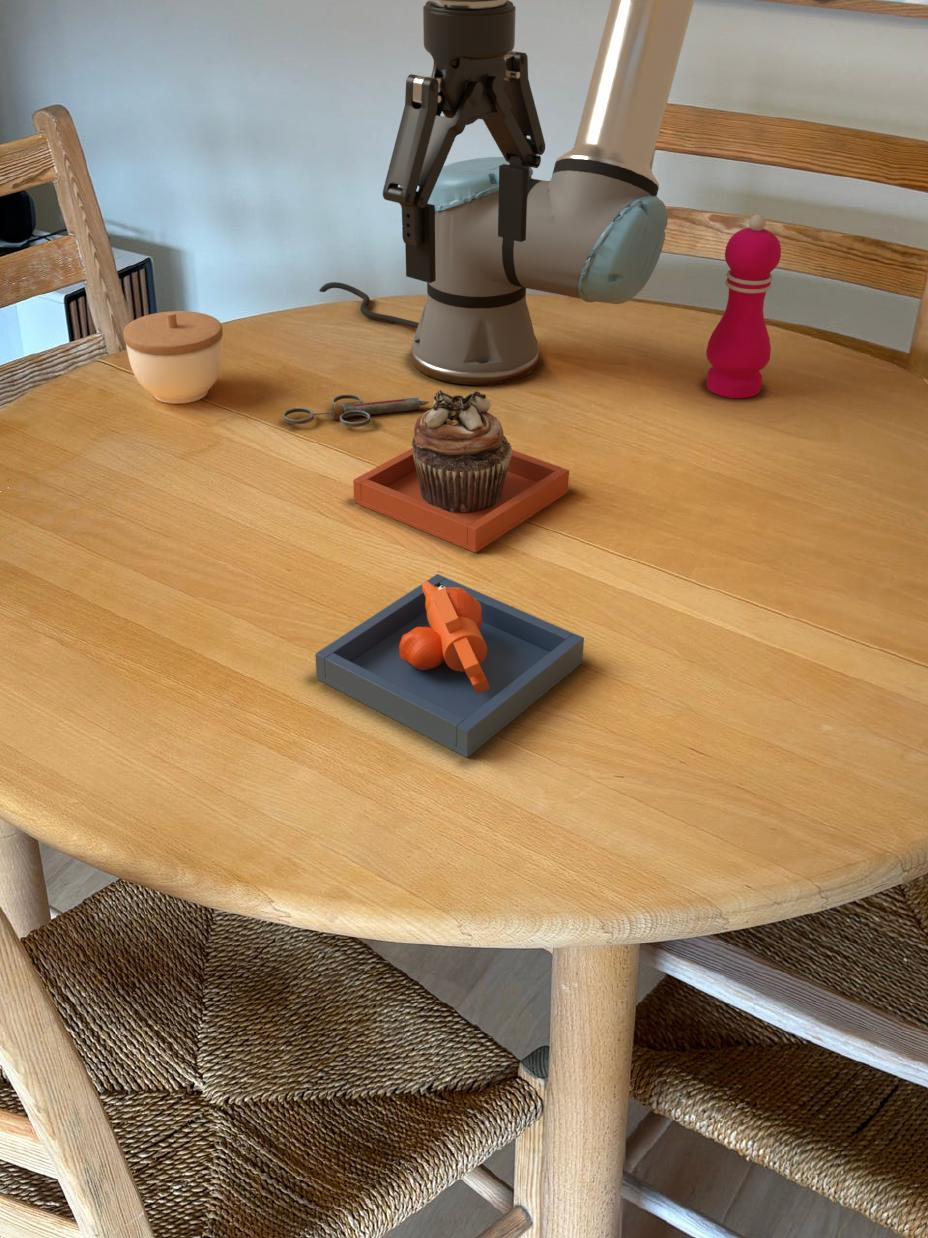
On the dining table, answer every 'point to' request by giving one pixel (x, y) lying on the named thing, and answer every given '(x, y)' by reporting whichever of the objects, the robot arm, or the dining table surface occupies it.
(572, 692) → the dining table surface
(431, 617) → the orange toy bird
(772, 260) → the pepper mill
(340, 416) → the syringe
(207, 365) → the trinket box
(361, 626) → the blue tray
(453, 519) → the terracotta tray
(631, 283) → the robot arm
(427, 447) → the cupcake
